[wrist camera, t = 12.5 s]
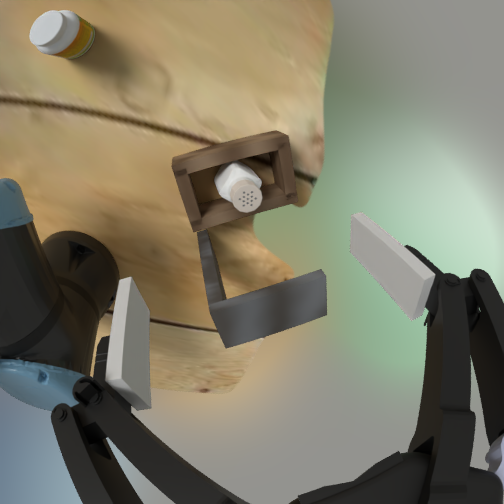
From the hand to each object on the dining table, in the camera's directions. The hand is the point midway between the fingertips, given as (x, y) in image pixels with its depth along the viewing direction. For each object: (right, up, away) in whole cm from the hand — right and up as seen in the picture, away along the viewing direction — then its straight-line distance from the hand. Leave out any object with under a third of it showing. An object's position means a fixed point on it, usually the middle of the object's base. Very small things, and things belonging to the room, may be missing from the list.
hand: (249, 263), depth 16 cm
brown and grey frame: (-2, +8, +23) cm, 25 cm away
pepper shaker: (-3, +11, +21) cm, 24 cm away
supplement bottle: (-22, +27, +6) cm, 35 cm away
